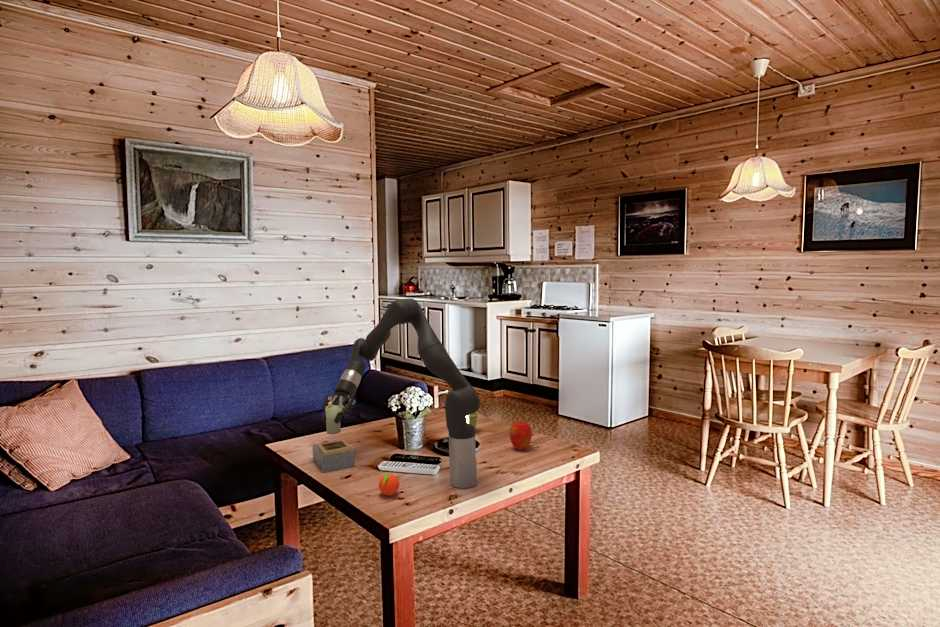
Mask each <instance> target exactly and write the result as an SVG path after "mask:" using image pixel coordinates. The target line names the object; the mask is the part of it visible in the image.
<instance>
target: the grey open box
mask: <svg viewBox="0 0 940 627" xmlns="http://www.w3.org/2000/svg"><path fill="white" fill-rule="evenodd" d="M311 449H312V460H313V461H314V463H315V464H316V465H317V467H318V468H319V469H320V471H321V472H322V473H323V474H325V473H329V472H333V471H339V470H344V469H349V468H354V467H356V463H355V461H356V460H355V450H354V449H352V447H351V446H350V445H349V444H348V443H347V442H346V441H345V440H344V439H337V440H332V441H326V442H321V443H315V444H314V443H313V444H312V447H311Z"/></svg>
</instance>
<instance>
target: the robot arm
mask: <svg viewBox="0 0 940 627" xmlns="http://www.w3.org/2000/svg"><path fill="white" fill-rule="evenodd" d="M404 324H410V325H411V326H412V327H413V328H414V330H415V332H416V335H417V353H418V356H419V358H420V359H421V361H422V363H423V364H424V365H425V367H426V369H427V370H428V371H430V372H431V373H432V374H433V375H435V376H436V377H438V378H439V379H441V380H442V381H443V382H445V383H446V384H447V385H448V386H449V387H450V388H451V390H452V391H450V392H447V395H446V396H445V400H444V401H445V402H444V410H445V423H446V428H447V431H448V454H449V455H448V456H449V465H448V466H449V484H450V486H452V487H455V488H458V489H461V490H462V489H467V488H471V487H475V486H478V471H477V468H478V466H477V464H478V463H477V456H476V455H477V451H476V449H477V448H476V445H477V444H476V428H475V427H474V426H473V425H471V424H467V423H466V418H465V416H466V415H469V414H472V413H475V412H478V411H479V410H480V407H481V402H480V401H481V399H480V396H479V395H478V392H477V391H476V389H475V388H474V387H473V386H472V384H471V383H470V382H469V381H468V379H467V378H466V377H465V376H464V375H463V374H462V372H461V371H460V369H459V368H458V367H457V365H456V364H455V362H454V361H453V359H452V358H451V356H450V354H449V353H448V351H447V349H446V348H445V347H444V345H443V343H442V342H441V341H440V339H439V337H438V336H437V335H436V333H435V331H434V330H433V328H432V326H431V324H430V322H429V320H428V318H427V317H426V315H425V313H424V311H423V309H422V307H421V305H420V304H419V302H418V301H417V300H416V299H413V298H410V297H409V298H401V299H395V300H393V301H392V302H390V304H389V305H388V307H387V308H386V310H385V311H384V313H383V315H382V316H381V318H380V320H379V321H378V323H377V324H376V326H374V328H373V329H371V331H370V332H369V333H368V334H367V335H366V338H363V337H359V338H357V339H356V340H354V342H353V345H352V348H351V353H350V358H349V362H348V364H347V365H346V368H345V370H344V372H343V373H342V375H341V377H340V379H339V380H338V382H337V385H336V387H335V389H334V393H333V394H332V395H330V396H329V395H328V394H326V395H325V397H324V400H323V403H322V409H323V411H324V412H323V414H322V416H321V420H322V421H323V422H325V423H326V409H325V407H326V406H328V402H332V405H339V413H337V415H336V417H335V419H334V422H335V423H336V424H338V423H339V422H340V423H341V421H342V419H343V417H344V416H345V415H349V414H350V413H351V412H352V410H353V408H354V407H355V406H356V405H357V401H356V400H355V399H354V396H355V393H356V391H357V389H358V387H359V385H360V383H361V380H362V377H363V375H364V373H365V371H366V368H367V365H366V363H365V362H364V361H363V360H362V359H364V360H365V361H368V362H372V361H374V360H375V359H376V358H377V356H378V354H379V352H380V348H381V347H382V346H383V345H384V344H385V343H386V342H387V341H388V340H389V338H390V336H391V332H392V331H391V330H392V329H393V328H394V327H395V326H398V325H404Z"/></svg>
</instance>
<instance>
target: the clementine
mask: <svg viewBox="0 0 940 627" xmlns="http://www.w3.org/2000/svg"><path fill="white" fill-rule="evenodd" d="M378 489H379V491H380V493H381V494H382V495H385V496H389V497H390V496H393V495H395V494H396V493H397V492H398V491H399V489H400V480H399V478H398V477H397V476H396V475H395V474H392V473H387V474H384V475H382V476H381V478H379V481H378Z"/></svg>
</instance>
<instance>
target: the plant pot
mask: <svg viewBox="0 0 940 627" xmlns="http://www.w3.org/2000/svg"><path fill="white" fill-rule="evenodd" d="M478 417H479V412H478V411H477V412H475V413H472V414H470V424H471V425H473V426H474V427H475V429H476V427H477V420H478Z"/></svg>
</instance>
